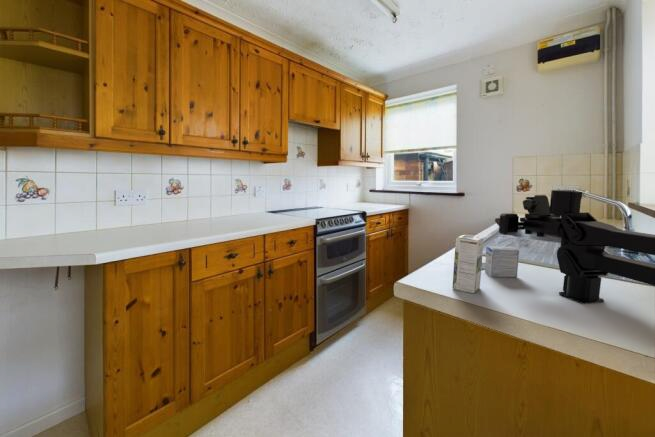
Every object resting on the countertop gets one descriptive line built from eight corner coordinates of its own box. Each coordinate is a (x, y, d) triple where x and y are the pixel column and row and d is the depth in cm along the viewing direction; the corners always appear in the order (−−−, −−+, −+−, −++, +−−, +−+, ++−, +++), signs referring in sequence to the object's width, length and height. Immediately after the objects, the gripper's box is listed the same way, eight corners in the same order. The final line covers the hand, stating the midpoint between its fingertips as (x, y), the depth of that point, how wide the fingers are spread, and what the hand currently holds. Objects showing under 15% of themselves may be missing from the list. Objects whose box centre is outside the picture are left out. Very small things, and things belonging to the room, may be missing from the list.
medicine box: (510, 273, 96) (512, 246, 95) (517, 277, 92) (519, 249, 91) (484, 272, 97) (486, 246, 96) (490, 277, 93) (492, 249, 92)
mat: (497, 268, 101) (497, 267, 101) (470, 270, 99) (470, 269, 99) (484, 263, 107) (484, 262, 107) (458, 264, 106) (458, 264, 106)
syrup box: (458, 283, 87) (461, 233, 85) (480, 288, 83) (484, 236, 82) (452, 289, 83) (454, 237, 81) (475, 294, 79) (478, 239, 77)
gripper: (582, 197, 84) (534, 194, 99) (524, 198, 81) (484, 195, 96) (578, 236, 86) (531, 227, 101) (521, 239, 82) (481, 229, 97)
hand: (508, 219), depth 99 cm, fingers open, 9 cm apart
